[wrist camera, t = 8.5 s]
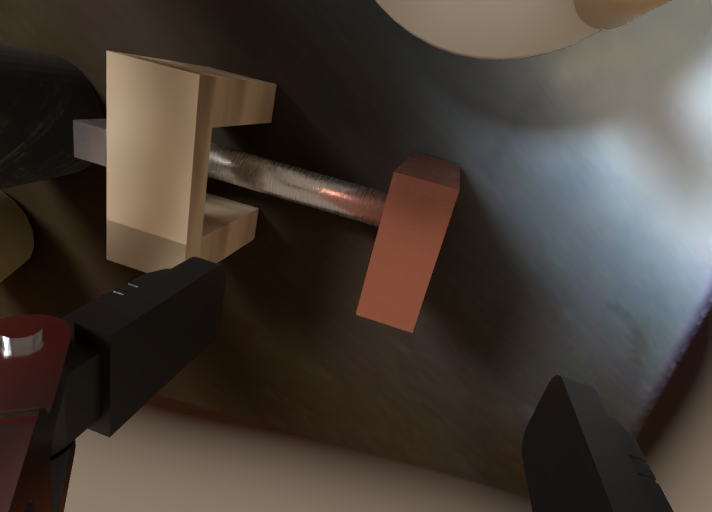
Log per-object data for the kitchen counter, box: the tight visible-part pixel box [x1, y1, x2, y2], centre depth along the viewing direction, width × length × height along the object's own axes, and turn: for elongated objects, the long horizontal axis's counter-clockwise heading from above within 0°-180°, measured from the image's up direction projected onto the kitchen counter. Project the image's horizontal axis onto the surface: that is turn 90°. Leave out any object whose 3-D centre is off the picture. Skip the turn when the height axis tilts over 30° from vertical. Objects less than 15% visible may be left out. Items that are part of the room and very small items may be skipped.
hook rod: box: [73, 119, 460, 333], centre depth 20 cm, size 18×6×7 cm, turn 76°
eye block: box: [107, 51, 277, 273], centre depth 21 cm, size 4×9×7 cm, turn 166°
